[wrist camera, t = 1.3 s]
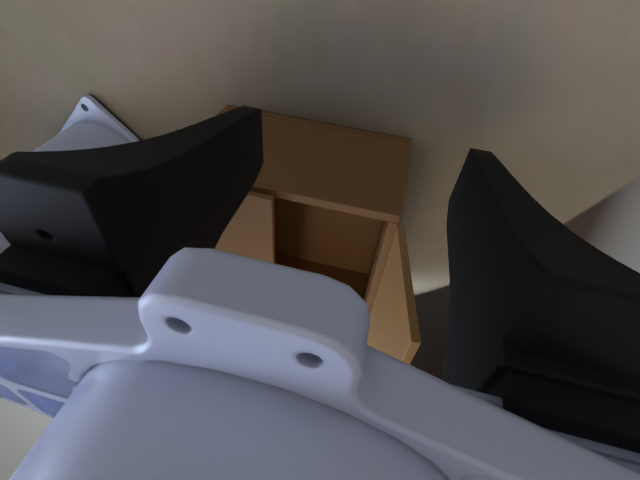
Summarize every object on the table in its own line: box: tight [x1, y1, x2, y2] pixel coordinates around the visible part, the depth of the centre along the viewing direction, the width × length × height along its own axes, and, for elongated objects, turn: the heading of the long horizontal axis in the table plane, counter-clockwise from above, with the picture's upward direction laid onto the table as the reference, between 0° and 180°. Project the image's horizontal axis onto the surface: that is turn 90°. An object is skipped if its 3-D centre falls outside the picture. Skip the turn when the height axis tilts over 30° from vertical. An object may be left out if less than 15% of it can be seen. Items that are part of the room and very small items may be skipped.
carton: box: [215, 105, 411, 314], centre depth 25 cm, size 12×13×8 cm
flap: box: [367, 227, 421, 364], centre depth 19 cm, size 6×13×1 cm
